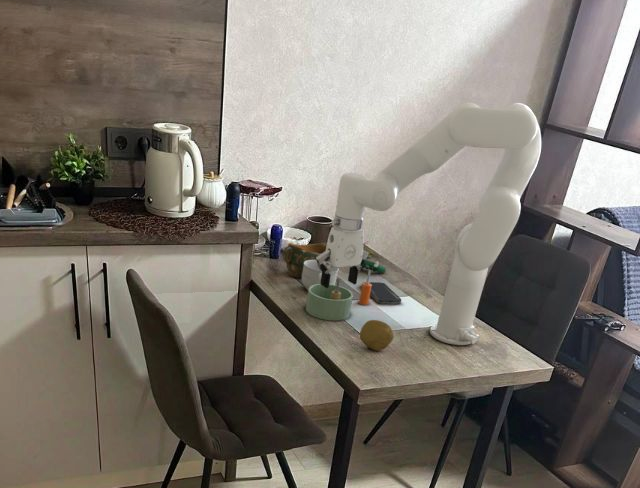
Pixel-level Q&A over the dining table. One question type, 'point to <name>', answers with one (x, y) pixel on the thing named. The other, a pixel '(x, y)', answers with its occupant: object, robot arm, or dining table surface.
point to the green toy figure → (373, 267)
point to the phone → (383, 294)
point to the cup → (301, 256)
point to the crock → (328, 302)
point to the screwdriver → (365, 291)
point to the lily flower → (368, 251)
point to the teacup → (315, 274)
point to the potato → (376, 334)
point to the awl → (336, 292)
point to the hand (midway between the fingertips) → (338, 284)
